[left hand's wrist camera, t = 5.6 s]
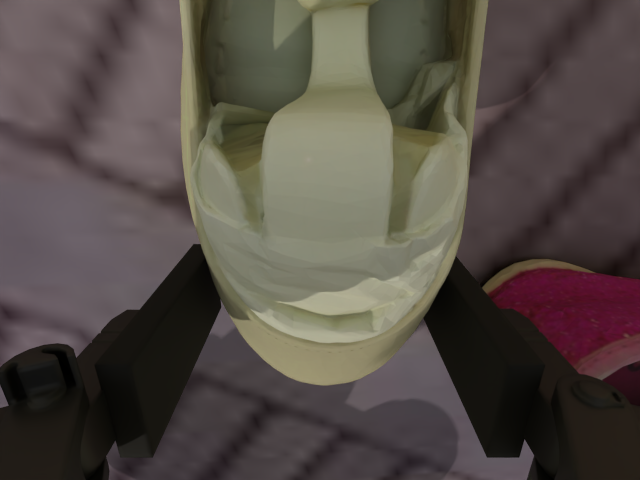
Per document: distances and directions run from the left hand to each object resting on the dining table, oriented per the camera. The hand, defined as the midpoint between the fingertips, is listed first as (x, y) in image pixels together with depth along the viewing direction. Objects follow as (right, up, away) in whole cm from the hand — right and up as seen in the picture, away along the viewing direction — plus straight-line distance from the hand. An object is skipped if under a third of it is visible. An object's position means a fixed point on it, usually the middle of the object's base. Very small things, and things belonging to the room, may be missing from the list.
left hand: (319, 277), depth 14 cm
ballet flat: (0, +8, -3) cm, 8 cm away
